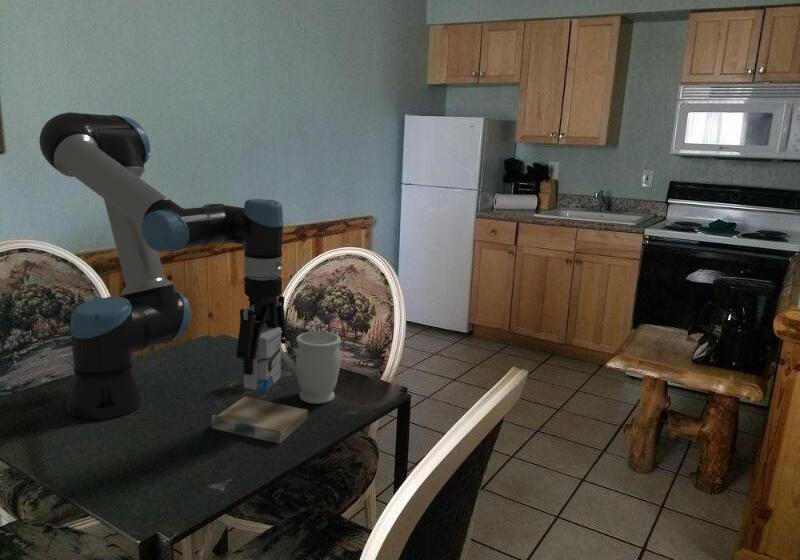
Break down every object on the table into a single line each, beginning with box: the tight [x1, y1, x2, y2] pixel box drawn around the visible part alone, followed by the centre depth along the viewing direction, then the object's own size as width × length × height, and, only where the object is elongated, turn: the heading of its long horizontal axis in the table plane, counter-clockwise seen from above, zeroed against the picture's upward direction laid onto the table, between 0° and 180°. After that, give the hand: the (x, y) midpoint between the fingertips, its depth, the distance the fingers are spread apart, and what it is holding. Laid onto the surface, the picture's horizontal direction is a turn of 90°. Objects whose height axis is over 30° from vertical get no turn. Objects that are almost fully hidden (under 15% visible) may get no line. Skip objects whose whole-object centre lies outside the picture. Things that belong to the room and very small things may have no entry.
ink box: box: [244, 325, 282, 393], centre depth 126 cm, size 8×5×12 cm, turn 170°
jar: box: [295, 331, 342, 405], centre depth 142 cm, size 11×10×15 cm
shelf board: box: [211, 396, 309, 445], centre depth 129 cm, size 16×13×3 cm
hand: (262, 379), depth 127 cm, fingers closed on ink box, 9 cm apart
